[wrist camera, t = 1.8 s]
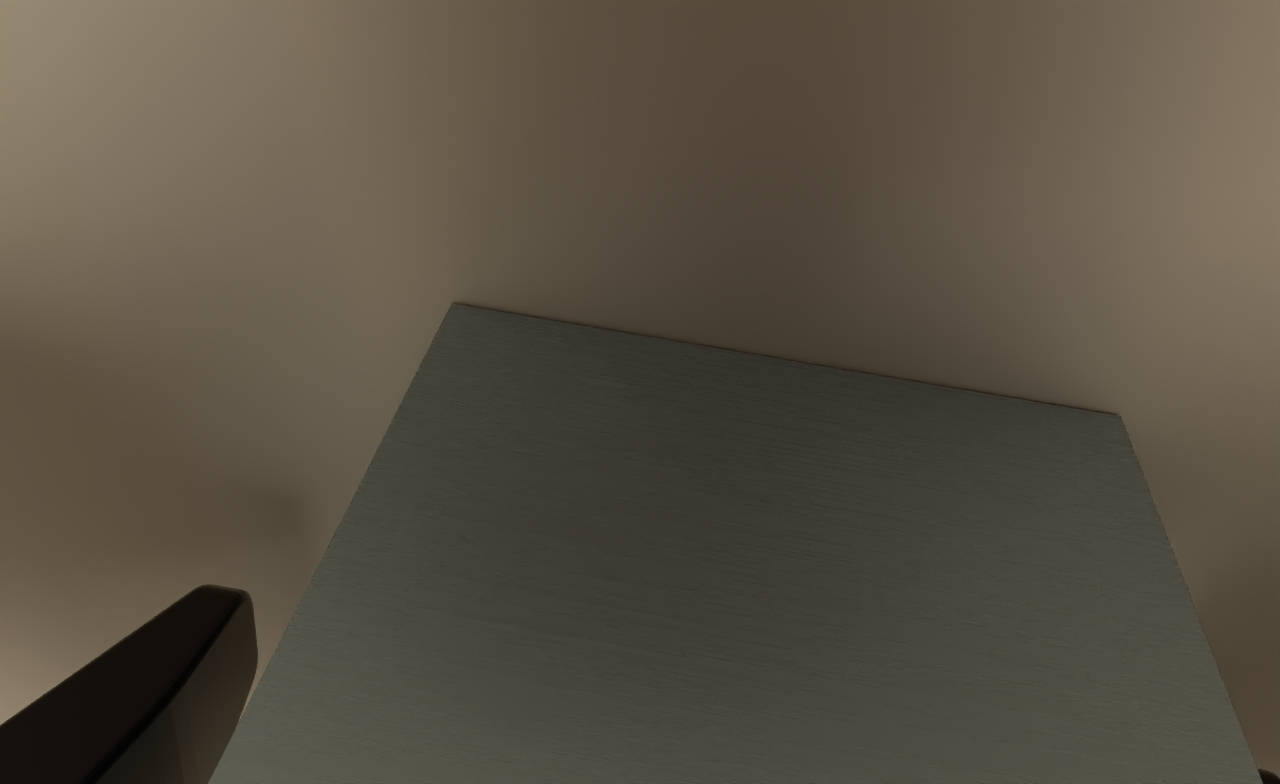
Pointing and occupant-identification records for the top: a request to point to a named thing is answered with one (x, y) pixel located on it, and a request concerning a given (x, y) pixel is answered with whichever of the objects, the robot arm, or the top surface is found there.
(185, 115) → the top surface
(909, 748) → the brushed slate-grey cube
